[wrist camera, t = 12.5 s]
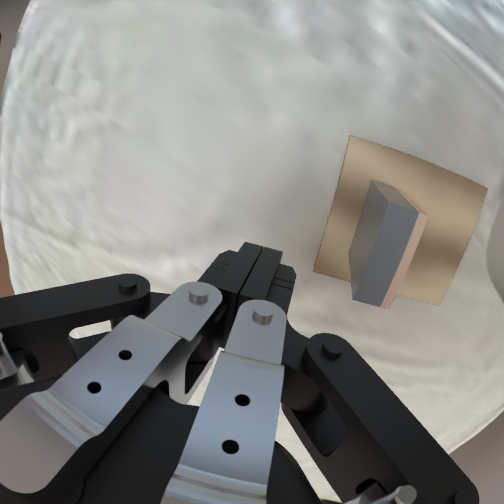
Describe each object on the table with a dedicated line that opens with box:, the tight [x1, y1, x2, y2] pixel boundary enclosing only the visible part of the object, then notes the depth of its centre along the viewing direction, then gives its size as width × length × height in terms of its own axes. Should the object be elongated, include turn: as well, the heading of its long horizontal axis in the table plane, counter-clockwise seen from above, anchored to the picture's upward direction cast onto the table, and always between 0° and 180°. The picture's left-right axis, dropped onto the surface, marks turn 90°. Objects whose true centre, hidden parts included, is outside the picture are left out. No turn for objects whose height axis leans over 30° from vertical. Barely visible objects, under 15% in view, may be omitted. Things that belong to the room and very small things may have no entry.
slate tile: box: [348, 179, 428, 309], centre depth 18 cm, size 6×2×7 cm, turn 169°
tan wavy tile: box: [313, 136, 487, 306], centre depth 20 cm, size 11×12×1 cm
